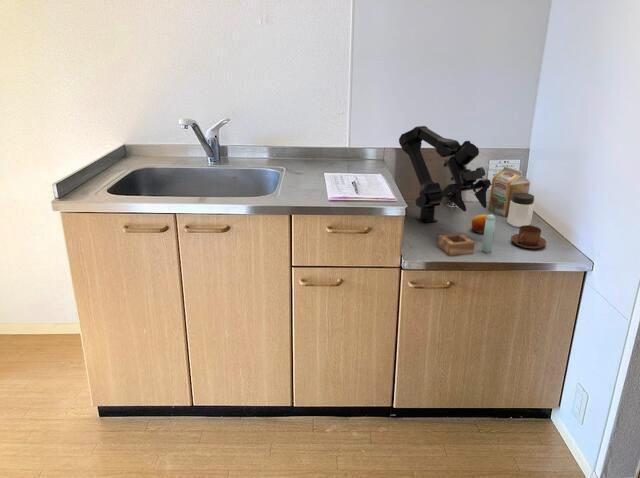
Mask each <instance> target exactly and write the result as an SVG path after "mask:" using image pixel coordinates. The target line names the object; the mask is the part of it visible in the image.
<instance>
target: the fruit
mask: <svg viewBox="0 0 640 478" xmlns="http://www.w3.org/2000/svg"><path fill="white" fill-rule="evenodd" d="M488 215H489V214H478V215H476V216H474V217H473V218H472V219H471V228H472V230H473V232H475V233H476V232H477V233H479V234H482V233H484V229H485V222H486V217H487V216H488Z"/></svg>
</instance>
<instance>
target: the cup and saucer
mask: <svg viewBox="0 0 640 478" xmlns="http://www.w3.org/2000/svg"><path fill="white" fill-rule="evenodd" d="M518 228H519V230H518V233H516V234H515V233H514V234H513V235H511V236H510V240H511V241H512V243H513V244H515V245H516V246H519V247H521V248H525V249H541V248H543V247H545V246H546V245H547V241H546V240H545V238H543V237H541V234H542V229H541V228H539V226H538V227H537V226H535V225H525V226H521V227H518Z"/></svg>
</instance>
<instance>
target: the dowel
mask: <svg viewBox="0 0 640 478" xmlns="http://www.w3.org/2000/svg"><path fill="white" fill-rule="evenodd" d="M487 215H488V216H487V217H486V222H485V229H484V232H483V237H482V245H481V252H483V253H486V254H487V253H491V252H492V247H493V239H494V233H495V227H496V226H495V225H496V220H497V218H496V216H495V214H487Z"/></svg>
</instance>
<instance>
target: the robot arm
mask: <svg viewBox="0 0 640 478" xmlns="http://www.w3.org/2000/svg"><path fill="white" fill-rule="evenodd" d="M422 141H424V142H425V143H426V144H429V145H430V146H431V147H433V148H434V149H435V152H436V154H438V156H439V157H441V158H448V159H445V161H444V163H443V168H448V170H449V171H450V174H451V177H450V180H451V181H454V183H451V184H447V186H446V187H444V188H443V189H442V188H441V185H440V183H439V182H434V181H433V179H432V177H431V174H430V171H429V169H428V166H427V165H426V164H427V163H426V161H425V159H424V156H423V154H422V152H421V148H422V144H423V143H422ZM398 143H399V145H400V147H401V149H402V151H403V152H404V153H406V154H407V155H408V156H409V159H410V162H411V164H412V167H413V169H414V172H415V175H416V177H417V180H418V182H419V185H420V187H419V188H420V189H419V196H418V197H417V198H416V199H415V206H417V207H418V208H420V209H419V216H416V217H415V218H416V219H417V220H418V221H420V222H421V223H423V224H425V223H434V222H438V220H437V219H436V218H435V213H436V212H435V210H436V207H440V206H441V202H443V201H442V200H443V199H446V200H447V201H448V200H449V201H450V202H451V203H453V204H455V206H456V207H458V208H459V209H460V210H461V211H463V212H464V213H465V212H467V207H466V205H465V202H464V199H463V197H462V192H467V191H473V193H474V196H475V198H476V199H477V200H478V203H480V205H481V207H483V208H484V209H486V208H487V191H488V189H490V187H491V186H492V181H491V180H490V179H488V178H484V177H485V176H486V171H485V168H484V167H483V166H481V167H477V168H476V169H475V170H471V169H467V167H466V165H469V164H470V163H471V162H472V161H474V159H476V158H477V156H479V154H480V150H479V148H478V146H476V145H475V144H473V143H471V141H470V140H465V141H463V143H462V144H460V142H459V141H458V140H456V139H452V138H447V137H443V136H441V135H440V134H438V133H437V132H435V131H433V130H431V129H429V128H428V127H427V126H426V125H419V126H415V127H413V128H412V129H411V130H408V131H406V132H405V133H402V134H401V135H400V136H399V138H398ZM483 178H484V179H483Z"/></svg>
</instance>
